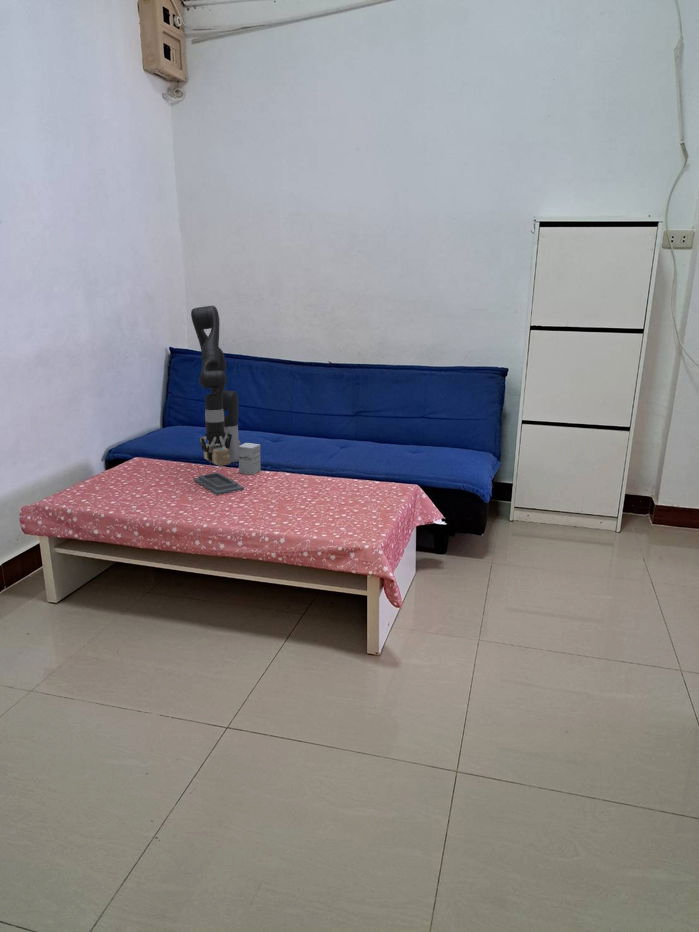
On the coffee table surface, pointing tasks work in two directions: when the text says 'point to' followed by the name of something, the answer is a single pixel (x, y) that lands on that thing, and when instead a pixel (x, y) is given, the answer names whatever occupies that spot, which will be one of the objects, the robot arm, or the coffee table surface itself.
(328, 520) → the coffee table surface
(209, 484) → the grey rectangular framed panel
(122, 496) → the coffee table surface
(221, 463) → the oak frame
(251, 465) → the supplement box
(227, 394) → the robot arm
